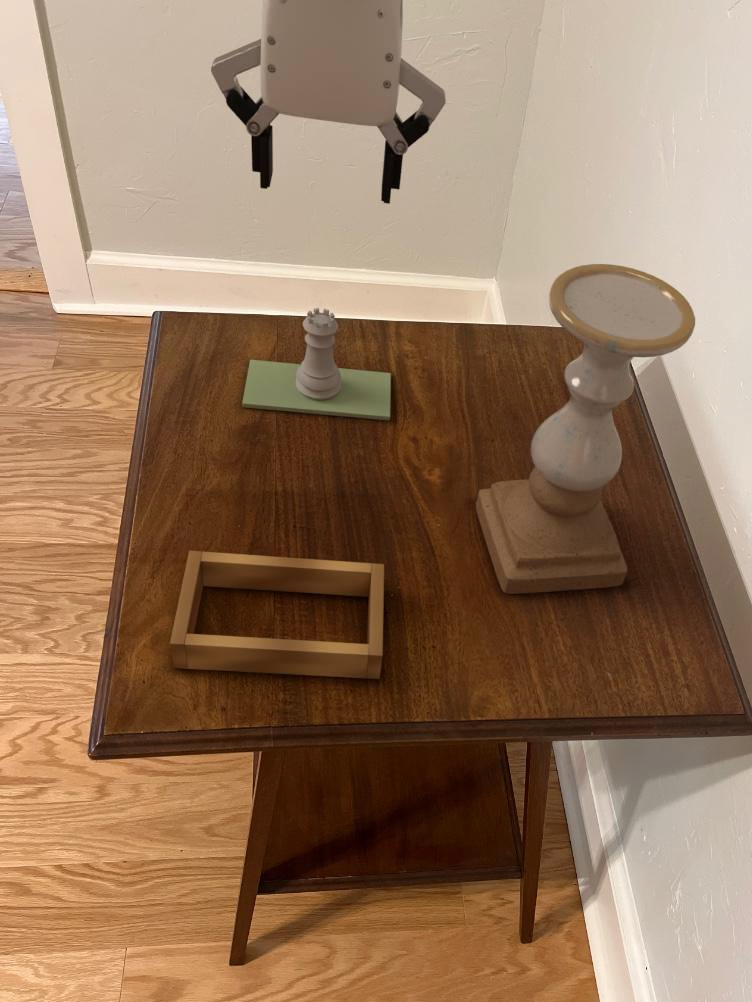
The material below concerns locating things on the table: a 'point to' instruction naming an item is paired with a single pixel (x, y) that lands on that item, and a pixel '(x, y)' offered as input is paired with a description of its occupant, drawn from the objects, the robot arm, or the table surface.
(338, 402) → the mat
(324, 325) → the rook chess piece
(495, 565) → the candle holder
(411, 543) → the table surface
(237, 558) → the rectangular wooden frame
